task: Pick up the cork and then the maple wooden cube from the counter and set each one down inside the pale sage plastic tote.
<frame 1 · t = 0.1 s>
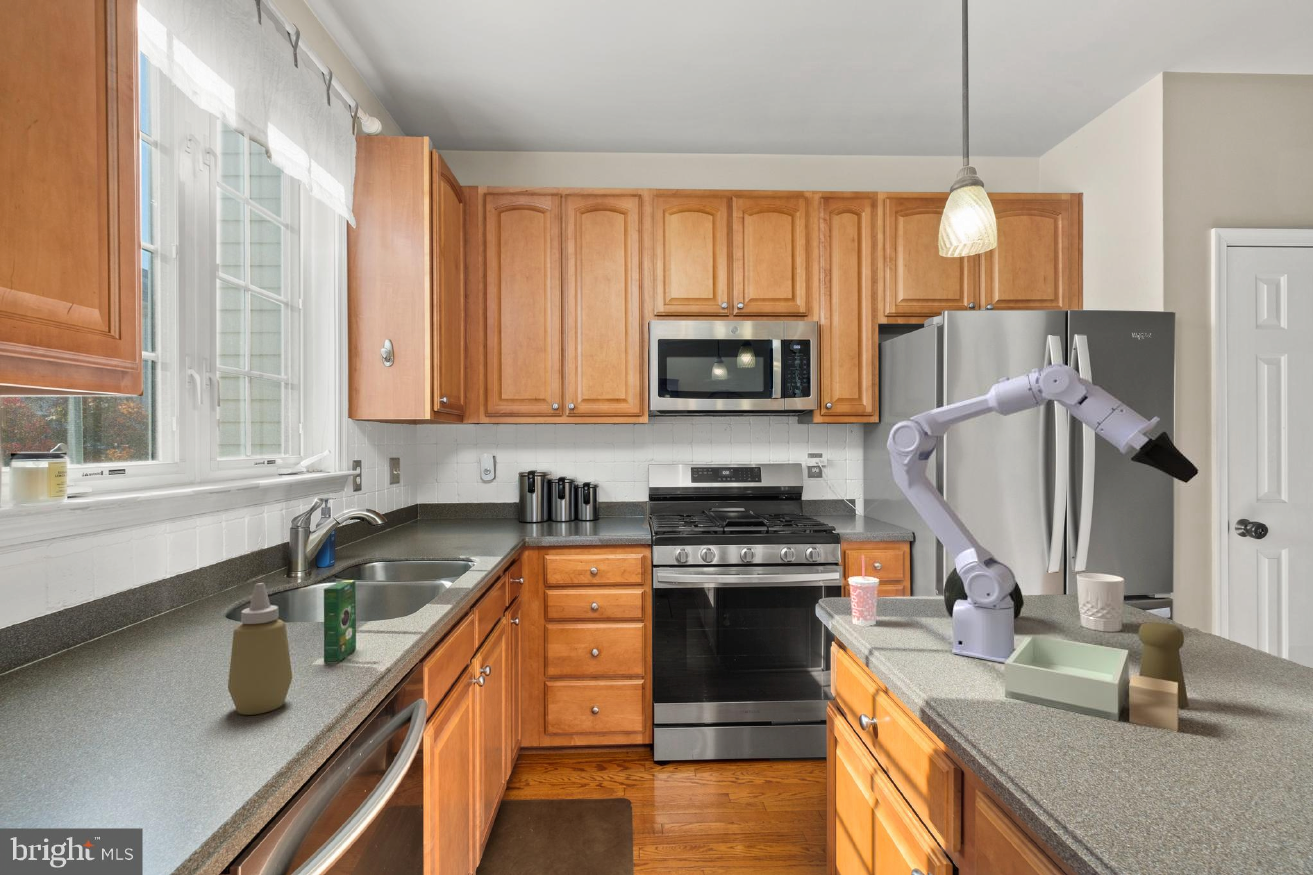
hand: (1192, 476, 98), 32 cm above the countertop, tool tilted 50°, fingers open, 7 cm apart
coffee box: (340, 657, 118), on the countertop
tote: (1068, 689, 99), on the countertop
white cup: (1100, 628, 131), on the countertop
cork: (1161, 701, 95), on the countertop
beverage cup: (864, 623, 136), on the countertop
squash: (982, 624, 135), on the countertop
squeeze bottle: (260, 709, 96), on the countertop
maple cube: (1154, 721, 88), on the countertop
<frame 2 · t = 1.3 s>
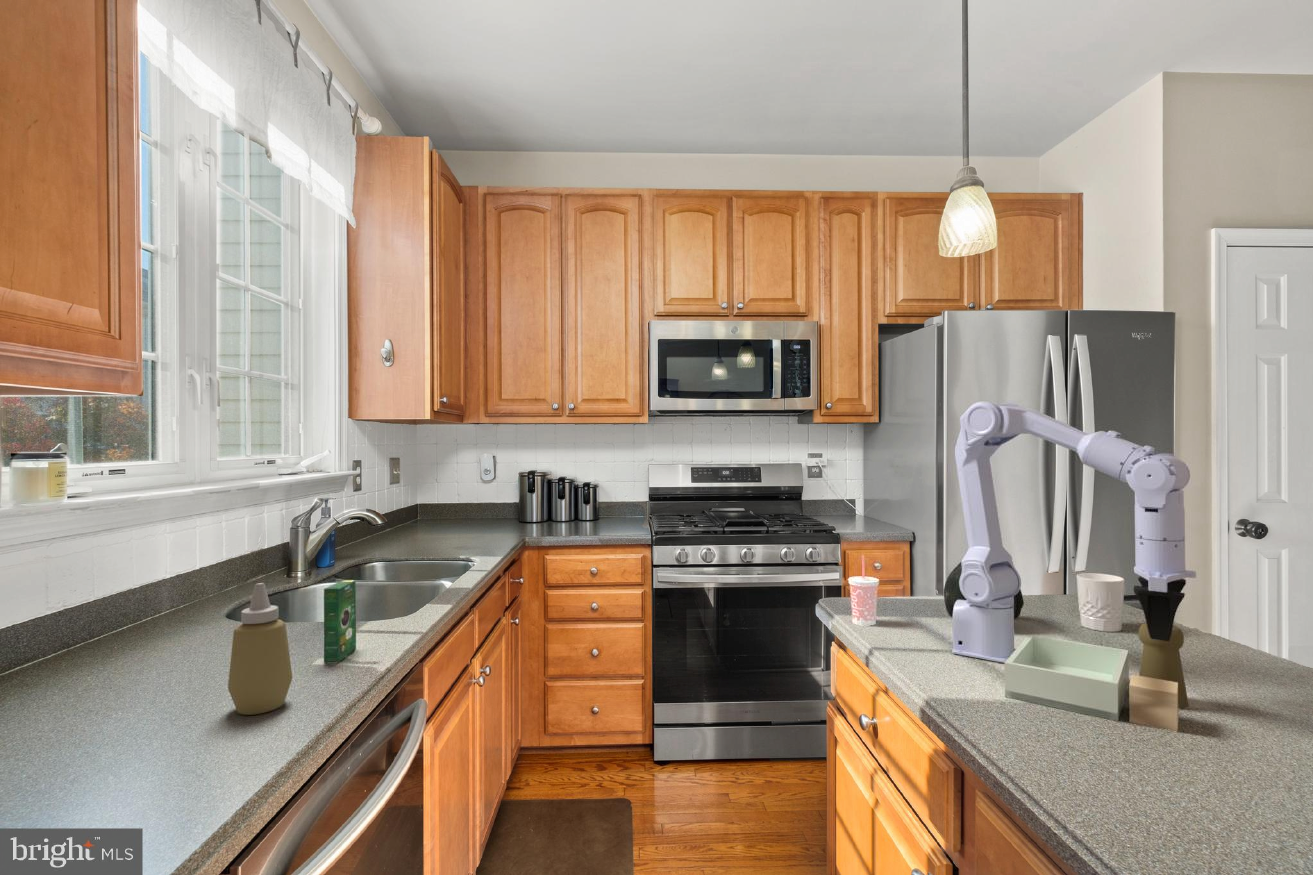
hand: (1161, 633, 95), 10 cm above the countertop, tool pointing down, fingers open, 7 cm apart
nothing on the countertop moved.
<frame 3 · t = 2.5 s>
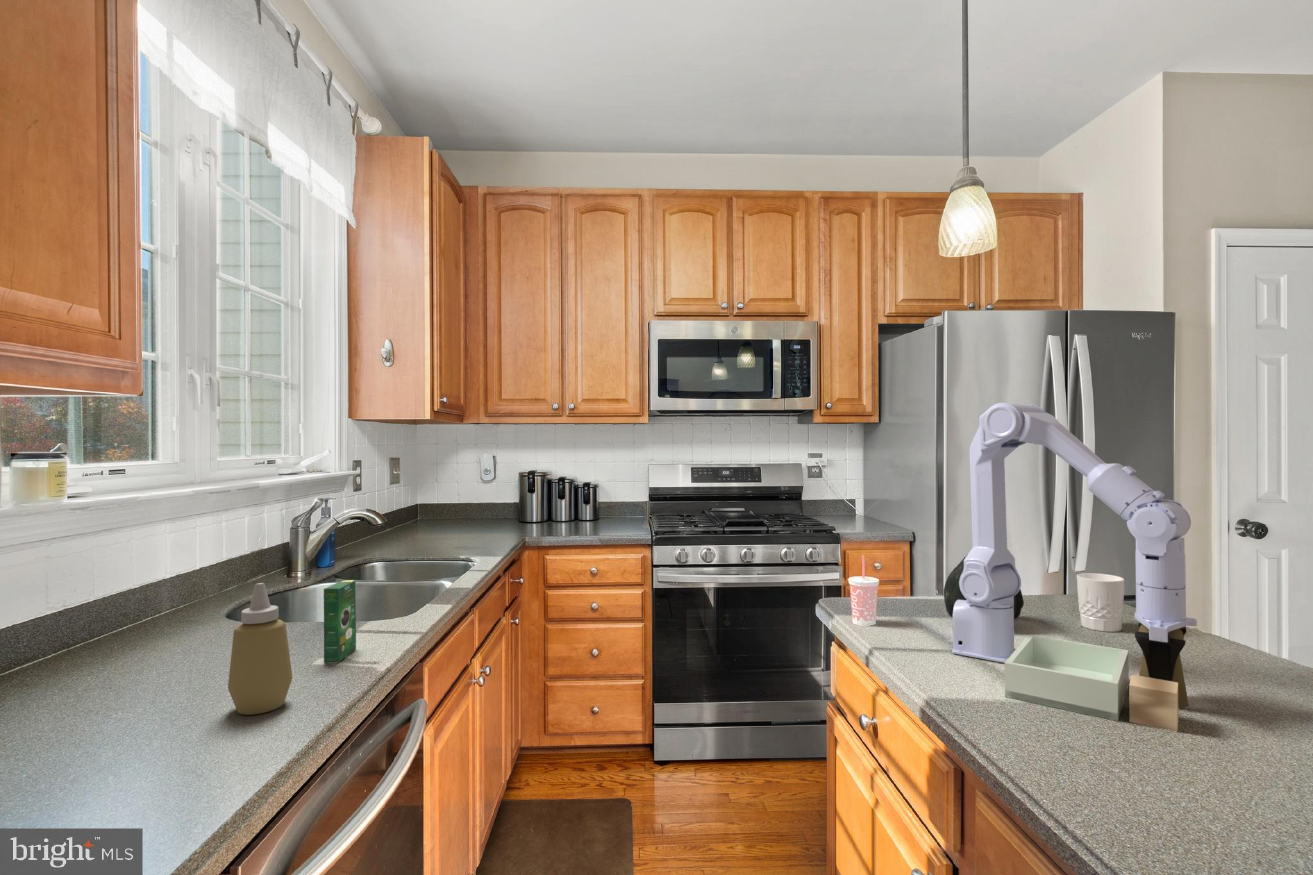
hand: (1161, 679, 95), 3 cm above the countertop, tool pointing down, fingers closed on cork, 5 cm apart
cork: (1161, 701, 95), on the countertop, touching gripper
everything else where it was.
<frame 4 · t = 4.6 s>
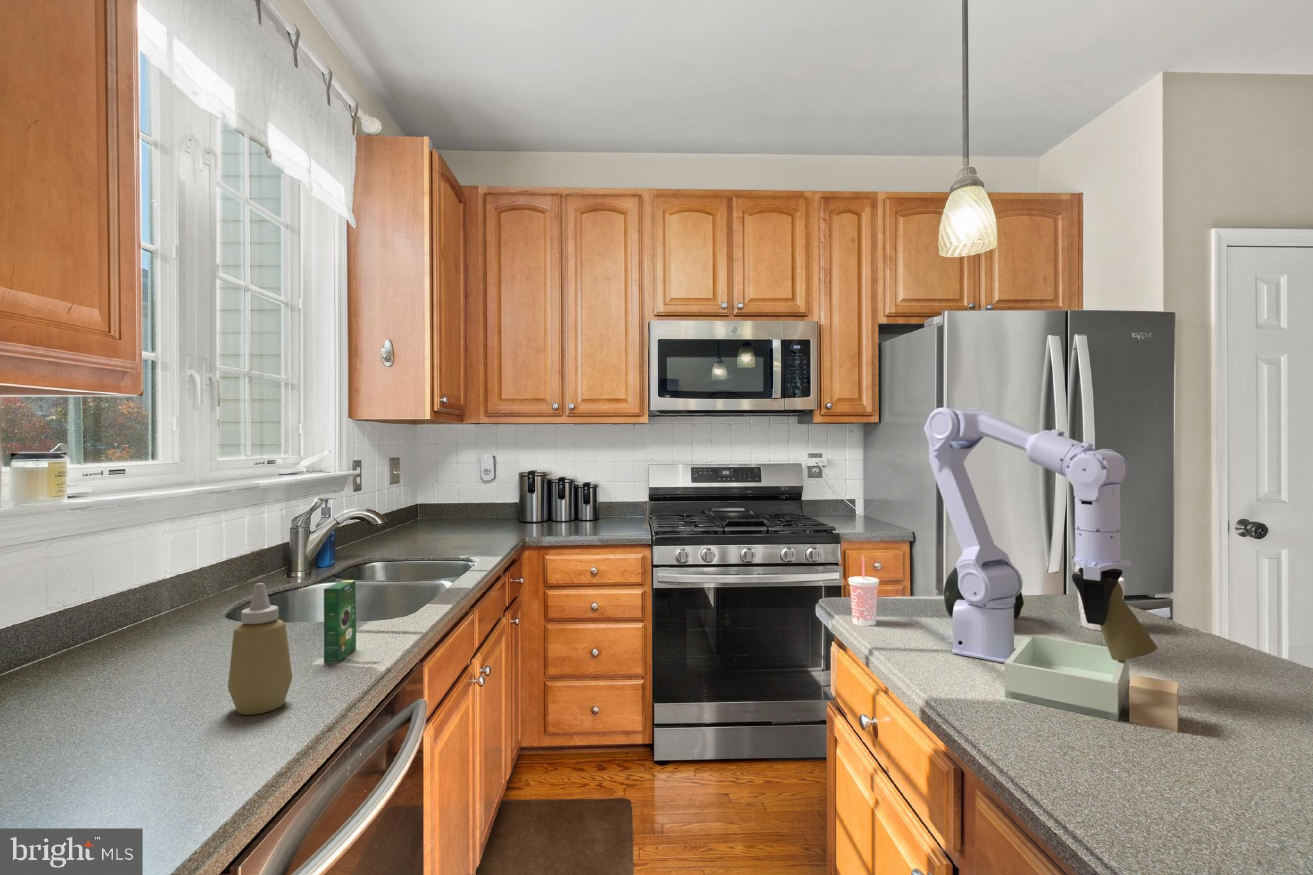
hand: (1097, 619, 100), 10 cm above the countertop, tool pointing down, fingers closed on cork, 5 cm apart
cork: (1135, 654, 97), point 6 cm above the countertop, touching gripper
everything else where it was.
when the fingers open (6 cm above the countertop, at t = 6.6 s): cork stays where it is, resting on tote.
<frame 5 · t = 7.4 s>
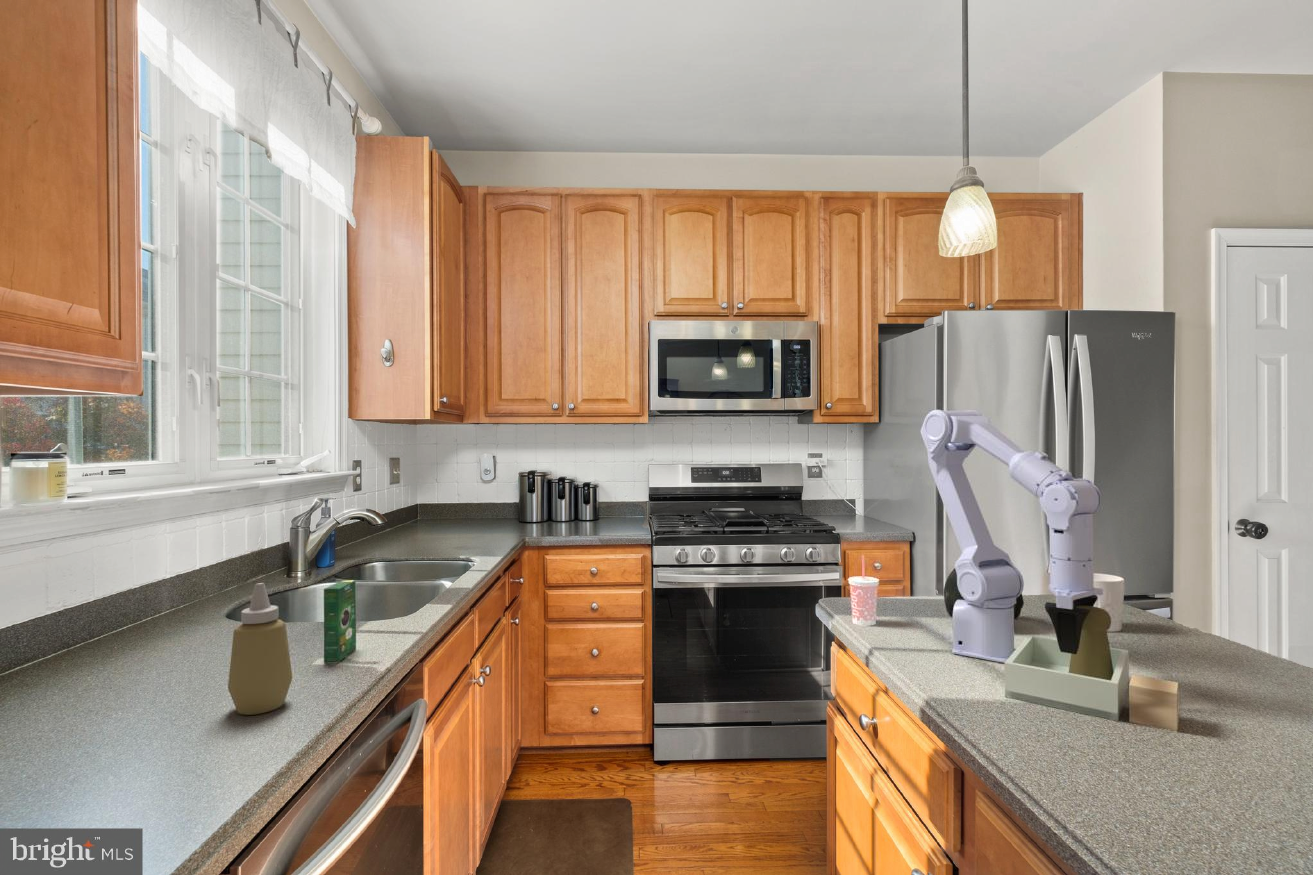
hand: (1072, 646, 102), 6 cm above the countertop, tool pointing down, fingers open, 7 cm apart
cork: (1091, 681, 100), point 1 cm above the countertop, touching tote
everything else where it was.
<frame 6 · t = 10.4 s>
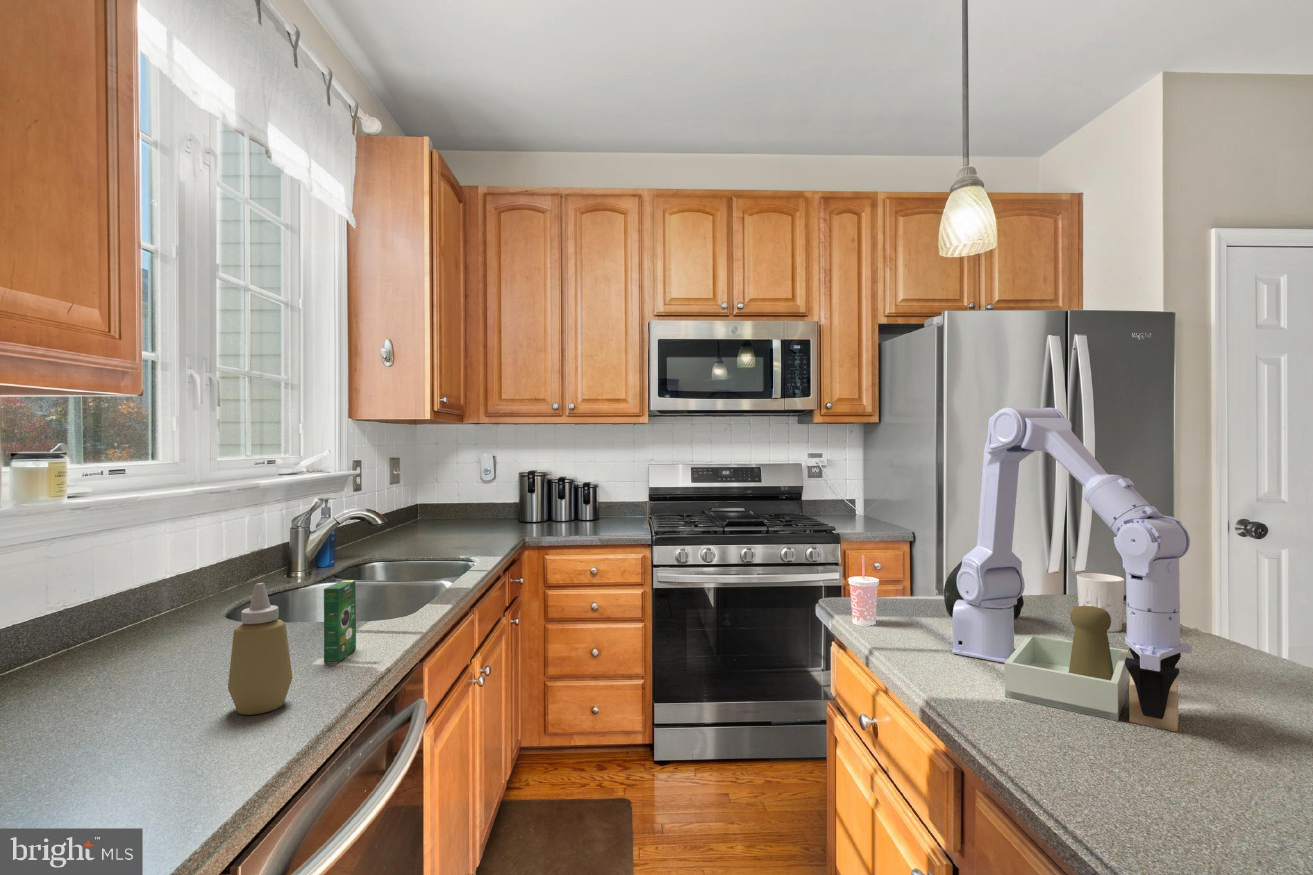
hand: (1154, 709, 88), 1 cm above the countertop, tool pointing down, fingers closed on maple cube, 5 cm apart
maple cube: (1154, 720, 88), on the countertop, touching gripper
everything else where it was.
when the fingers open (5 cm above the countertop, at t = 13.6 s): maple cube drops 3 cm, resting on tote.
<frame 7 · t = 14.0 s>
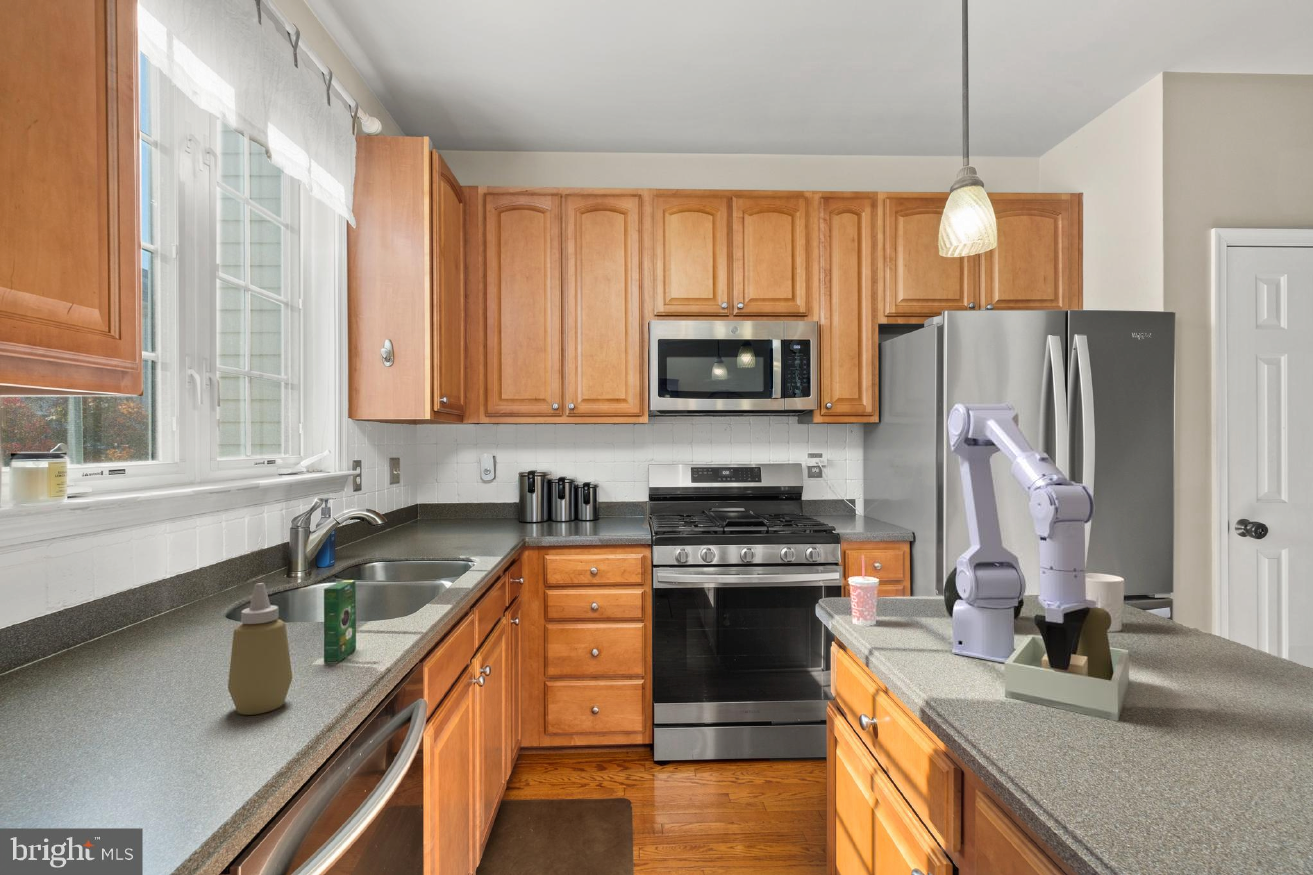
hand: (1063, 661, 95), 5 cm above the countertop, tool pointing down, fingers open, 7 cm apart
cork: (1091, 681, 100), point 1 cm above the countertop, touching gripper, tote
maple cube: (1065, 692, 95), point 1 cm above the countertop, touching tote
everything else where it was.
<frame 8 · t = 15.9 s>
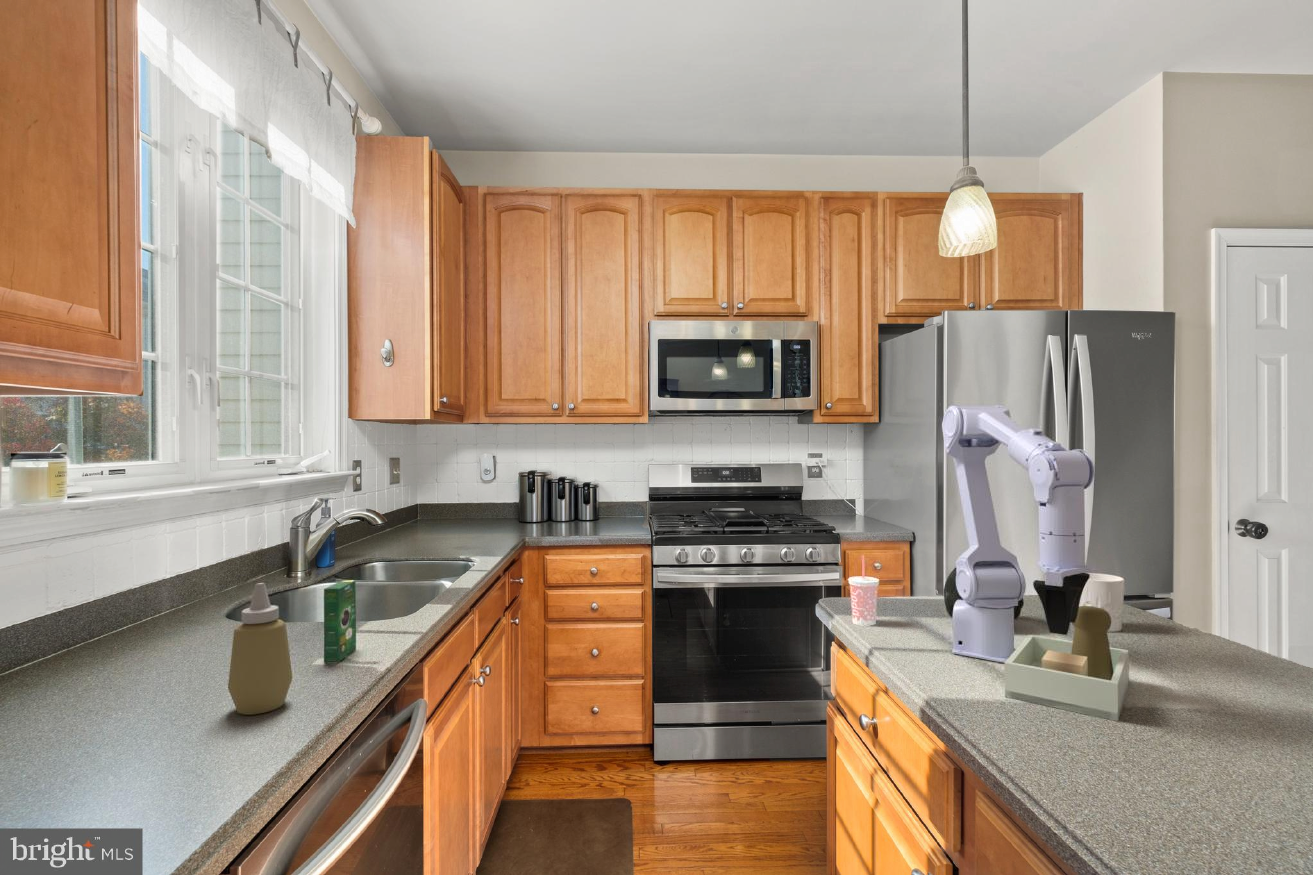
hand: (1062, 627, 96), 10 cm above the countertop, tool pointing down, fingers open, 7 cm apart
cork: (1091, 681, 100), point 1 cm above the countertop, touching tote
everything else where it was.
at the end: maple cube inside the target area on the tote (4.5 cm from its centre), point 1.0 cm above the tote's base; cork inside the target area on the tote (4.4 cm from its centre), point 0.8 cm above the tote's base; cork tilted 0° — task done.
